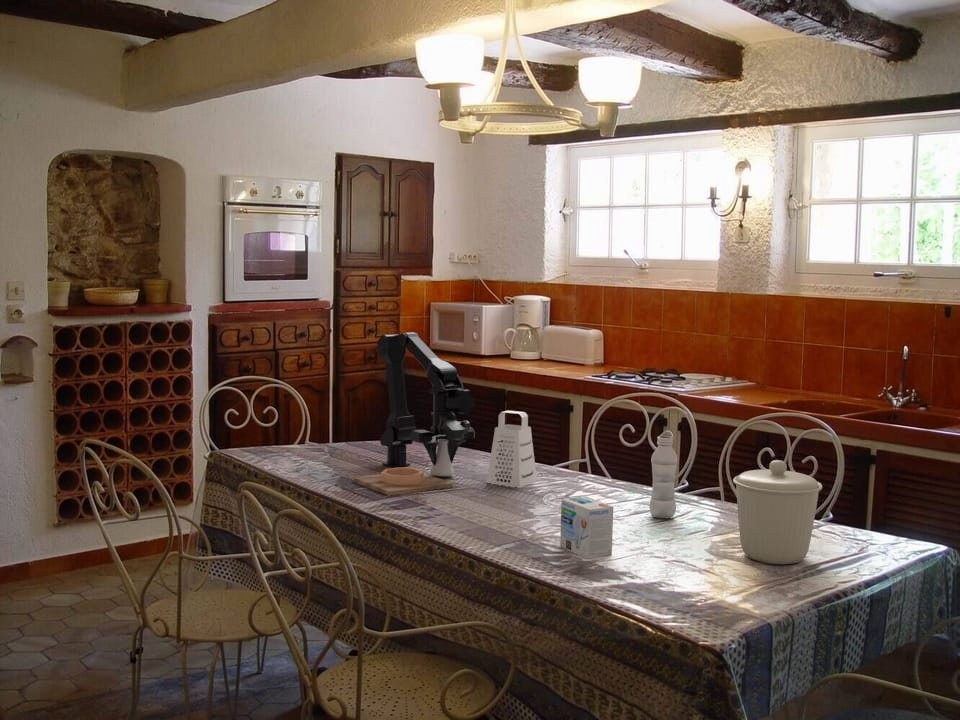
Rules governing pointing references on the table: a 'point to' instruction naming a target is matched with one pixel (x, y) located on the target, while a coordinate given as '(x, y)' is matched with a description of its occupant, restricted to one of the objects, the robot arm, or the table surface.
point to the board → (394, 489)
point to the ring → (402, 476)
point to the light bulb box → (586, 527)
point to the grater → (512, 453)
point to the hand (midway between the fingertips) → (442, 463)
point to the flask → (442, 460)
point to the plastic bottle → (663, 479)
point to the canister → (776, 513)
